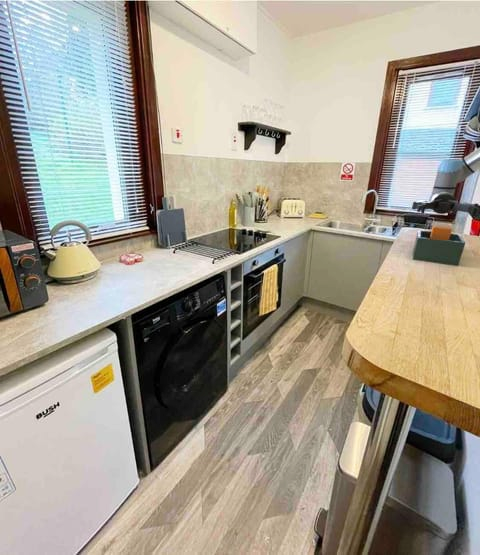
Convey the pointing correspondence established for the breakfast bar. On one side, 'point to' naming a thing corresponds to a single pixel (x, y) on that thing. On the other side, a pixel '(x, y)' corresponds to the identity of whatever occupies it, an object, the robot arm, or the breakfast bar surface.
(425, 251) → the waste bin
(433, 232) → the block
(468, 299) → the breakfast bar surface
